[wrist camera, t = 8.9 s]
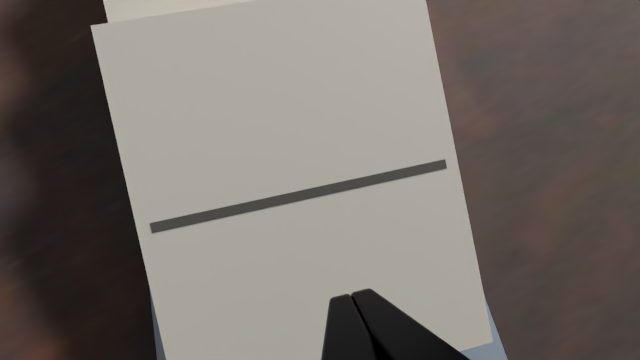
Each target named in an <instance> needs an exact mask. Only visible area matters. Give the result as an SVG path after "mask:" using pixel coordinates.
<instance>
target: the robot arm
mask: <svg viewBox="0 0 640 360" xmlns="http://www.w3.org/2000/svg"><path fill="white" fill-rule="evenodd" d="M321 360H470V359H469V358H468V357H466V356H465V355H463V354H462V353H461V352H459V351H458V350H456V349H455V348H454V347H452V346H451V345H449V344H448V343H447V342H445V341H444V340H442V339H441V338H440V337H438V336H437V335H435V334H434V333H433V332H431V331H430V330H428V329H427V328H426V327H424V326H423V325H421V324H420V323H419V322H417V321H416V320H414V319H413V318H412V317H410V316H409V315H407V314H406V313H405V312H403V311H402V310H400V309H399V308H398V307H396V306H395V305H393V304H392V303H391V302H389V301H388V300H386V299H385V298H384V297H382V296H381V295H379V294H378V293H377V292H375V291H374V290H372V289H370V288H367V289H363V290H359V291H355V292H352V294H351V296H350V295H349V294H343V295H339V296H335V297H332V298H331V299H330V301H329V307H328V314H327V321H326V328H325V335H324V342H323V349H322V356H321Z"/></svg>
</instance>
